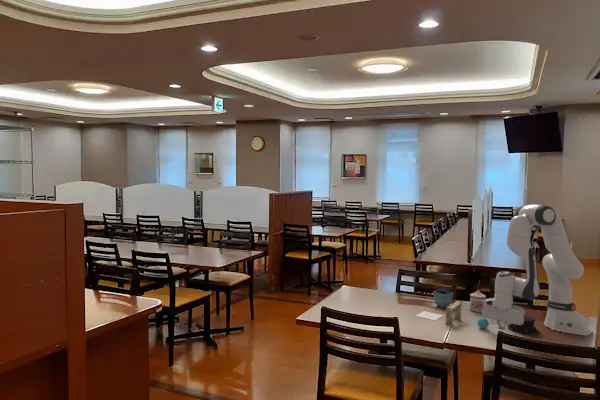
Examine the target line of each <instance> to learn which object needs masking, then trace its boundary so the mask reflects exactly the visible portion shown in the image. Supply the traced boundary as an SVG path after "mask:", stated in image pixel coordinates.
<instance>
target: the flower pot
mask: <svg viewBox="0 0 600 400" xmlns="http://www.w3.org/2000/svg"><path fill="white" fill-rule="evenodd" d="M432 294H433V300H434V303H435V304H436V306H438V307H440V308H442V309H444V308H446V307H448V306H450V305H452V302H453V297H454V292H451V291H448V290H445V289H439V290H434V291H432Z"/></svg>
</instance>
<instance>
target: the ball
mask: <svg viewBox="0 0 600 400" xmlns="http://www.w3.org/2000/svg"><path fill="white" fill-rule="evenodd" d="M489 324H490V323H489V321H488V318H484V317H480V318H478V320H477V325H478V327H479V328H480V329H482V330H483V329H487V328H488V327H489Z"/></svg>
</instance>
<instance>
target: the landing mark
mask: <svg viewBox="0 0 600 400" xmlns="http://www.w3.org/2000/svg"><path fill="white" fill-rule="evenodd" d="M414 317H418V318H421V319H426V320H430V321H433V322H434V321H435V322H436V321H437V320H439V319H441V318H443V317H444V315H443V314H437V313H434V312H429V311H425V310H423V311H422V312H420V313H418V314H416V315H414Z"/></svg>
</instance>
